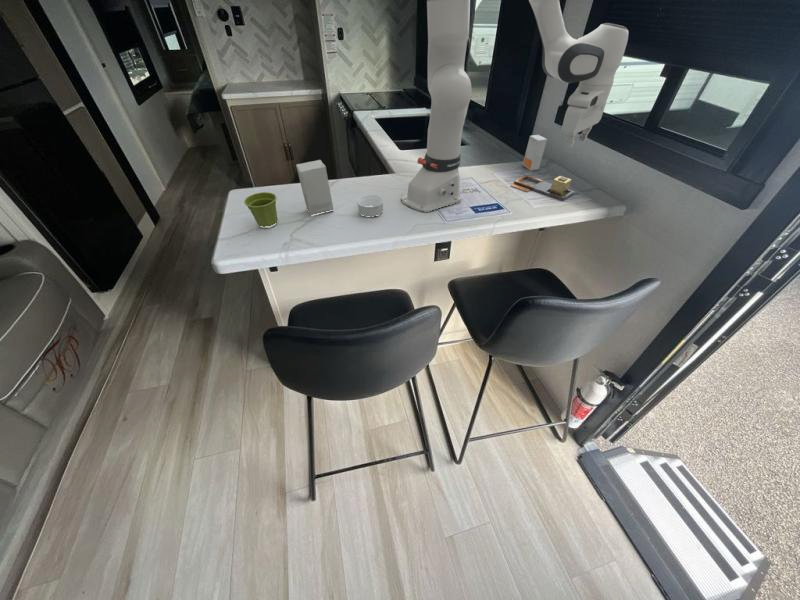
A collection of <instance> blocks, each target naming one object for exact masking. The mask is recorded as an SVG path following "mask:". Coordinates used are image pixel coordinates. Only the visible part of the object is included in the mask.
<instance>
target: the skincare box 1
mask: <svg viewBox="0 0 800 600" xmlns="http://www.w3.org/2000/svg"><path fill="white" fill-rule="evenodd" d="M295 166H296V170H297V174H298V179H299V183H300V187H301V189H302V195H303V198H304V203H305V206H306V210H307V209H308V210H307V212H308V211H309V212H308V213H310V216H311V215H313V214H317V213H321V212H326V211H330V210H333V209H334V204H333V200H332V194H331V189H330V184H329V178H328V173H327V167H326V164H324V163H323V162H322V160H321V159H317V160H314V161H313V160H312V161H307V162H303V163H297V164H295Z"/></svg>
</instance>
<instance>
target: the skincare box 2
mask: <svg viewBox="0 0 800 600" xmlns="http://www.w3.org/2000/svg"><path fill="white" fill-rule="evenodd" d="M547 141H548V139H547V138H545V137H544V136H541V135H540V134H534V135H529V139H528V143H527V147H526V150H525V154H524V158H523V162H522V166H524V167H525V168H526V169H527V170H529V171H535V170H539V169H540V166H541V163H542V159H543V156H544V151H545V150H546V149H545V148H546V144H547Z"/></svg>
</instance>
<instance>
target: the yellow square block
mask: <svg viewBox="0 0 800 600" xmlns="http://www.w3.org/2000/svg"><path fill="white" fill-rule="evenodd" d="M572 180H573V179H571V178H569V177H566V176H563V175H559V176H557V177H555V178H554V179H553V181H552V183H551V184H552V186H551V189H550V191H549V192H550V193H552V194H555V195H558V196H561V197H564V196H565V195H567V194H568V193H567V191H568V189H569V188H570V185H571V183H572ZM569 190H570V189H569Z"/></svg>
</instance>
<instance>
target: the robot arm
mask: <svg viewBox="0 0 800 600" xmlns="http://www.w3.org/2000/svg"><path fill="white" fill-rule="evenodd" d="M528 2H529V4H530V6H531V9H532V11H533V15H534V19H535V21H536V26H537V29H538V32H539V36H540V40H541V44H542V55H541V66H542V70H543V72H544V73H545V74H546V76H547V77H550V78H553V79H556V80H558V81H561V82H562V83H565V84H572V83H578V86H577V88H575V91H574V92H572V94H571V95H570V96H569V97H568V100H567V105H568V107H567V109H566V111H565V114H564V118H563V121H562V122H563V123H562V126H561V133H562V134H563V135H566V143H565V148H568V149H570V148H573V146H574V143H575V137H576V135H577V134H578V133H580V132H581V133H580V135H579V137H578V140H579V141H583V142H584V141H585V140H587V138H588V135H589V133H590V132H591V130H592V128H593V126H595V125H597V124H598V123H600V121H601V119H602V117H603V113H604V111H605V108H606V104H607V100H608V98H609V95H610V92H611V90H612V87H613V86H614V79H615V75H616V73H617V70H618V69H619V67H620V66H621V62H622V60H623V58H624V54H625V52H626V47H627V45H628V41H629V29H628V28H627V27H626V26H624V25H619V24H615V23H612V22H611V23H609V22H605V23H601V24H600V25H599V26H598V27H597V28H595V29H594V30H592V31H591V32H588V34H585V35H583V36H581V37H579V38H577V39H576V38H573V37H572V36H571V35H570V34H569V33H568V32H567V30H566V26H565V22H564V18H563V14H562V13H563V12H562V9H561V5H560V4H561V3H560V0H528ZM426 11H427V12H426V14H427V15H426V17H427V42H428V43H427V89H428V92H429V94H430V97H431V99H430V100H431V104H430V105H431V106H430V113H429V114H430V115H429V122H428V128H427V139H426V141H427V143H426V153H425V155H424V157H423V158H422V157H417V158H418V159H417V164H419V165H421V168H420V169H419V170H418V171H417V173H416V174H415V175H414V177H413V178H412V179H411V180H410V181H409V182H408V186H407V192H406V193H404V194H403V195H401V197H400V201H401V200H402V201H403V202H404V203H405V204H406V205H405V204H404V203H403V202H402V201H401V202H402V203H403V204H404V205H405V206H407V205H408V206H410V207H412V208H414V209H413V210H415V209H417V210H416V211H418V210H420V211H419V212H421V211H424V212H423V213H431V212H433V211H432V210H434V211H436V210H435V209H437V210H439V209H438V208H440V209H442V208H441V207H444V206H447V207H449V206H448V205H450V206H451V205H452V204H453V205H455V203H456V204H458V202H459V203H461V201H462V200H461V199H462V197H461V196H460V194H461V193H460V189H461V188H460V184H461V183H460V173H459V167H460V166H461V153H460V152H461V146H462V145H461V144H462V135H463V129H464V125H465V121H466V117H467V112H468V110H469V109H468V108H469V104H470V102H471V99H472V95H473V93H472V92H473V91H472V90H473V89H472V82H471V81H472V80H471V79H470V77H469V74H468V73H467V72H466V71H465V60H466V52H467V47H468V41H469V40H468V39H469V37H470V21H471V19H470V18H471V16H470V15H471V14H470V13H471V0H426ZM405 200H406V201H405ZM408 206H407V207H408ZM410 207H409V208H410ZM412 208H411V209H412ZM444 208H445V207H444ZM430 211H431V212H430Z"/></svg>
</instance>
